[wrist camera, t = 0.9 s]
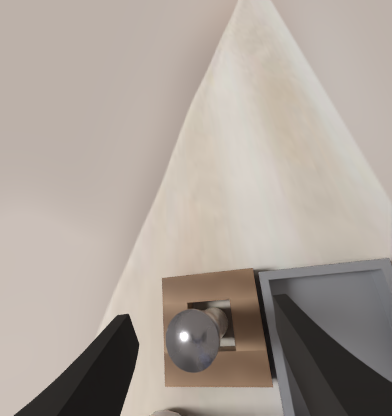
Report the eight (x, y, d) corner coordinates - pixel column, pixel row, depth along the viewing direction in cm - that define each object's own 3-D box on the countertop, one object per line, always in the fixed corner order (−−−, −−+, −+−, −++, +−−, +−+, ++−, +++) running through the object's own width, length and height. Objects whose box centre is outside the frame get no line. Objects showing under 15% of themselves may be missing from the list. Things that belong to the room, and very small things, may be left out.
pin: (235, 343, 23) (221, 372, 15) (197, 344, 24) (166, 373, 16) (229, 301, 24) (215, 307, 16) (194, 303, 25) (164, 311, 17)
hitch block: (272, 378, 21) (273, 387, 19) (172, 378, 23) (165, 386, 21) (253, 269, 24) (252, 268, 23) (168, 278, 27) (162, 278, 25)
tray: (435, 432, 17) (468, 460, 14) (286, 426, 20) (290, 448, 17) (372, 261, 22) (389, 258, 19) (258, 273, 24) (258, 271, 21)
